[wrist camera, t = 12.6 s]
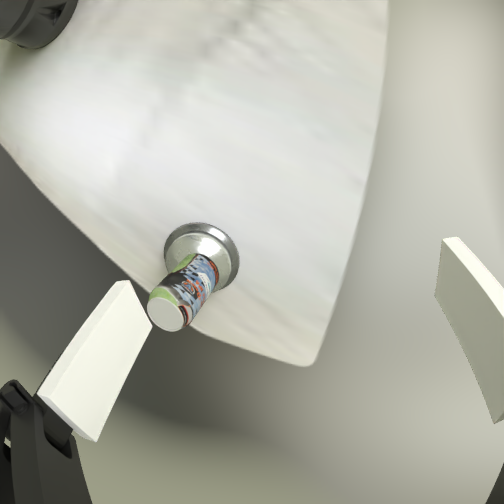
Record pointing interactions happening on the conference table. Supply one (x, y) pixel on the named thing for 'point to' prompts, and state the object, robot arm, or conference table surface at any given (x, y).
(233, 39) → the conference table surface
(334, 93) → the conference table surface
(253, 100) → the conference table surface
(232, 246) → the bowl
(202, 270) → the beverage can
